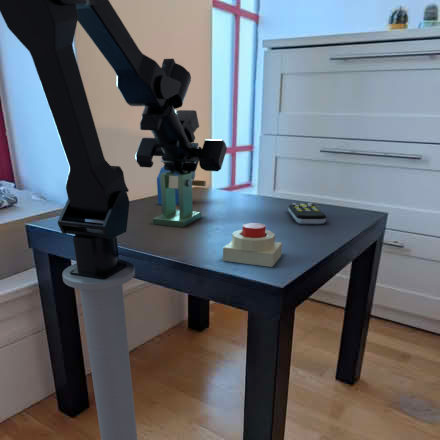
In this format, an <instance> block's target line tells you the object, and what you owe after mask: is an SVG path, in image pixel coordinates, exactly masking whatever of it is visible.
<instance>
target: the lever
mask: <svg viewBox="0 0 440 440" xmlns="http://www.w3.org/2000/svg"><path fill="white" fill-rule="evenodd" d="M206 186H207V181H206V180H200V179H199V180H197V179H194V180H192V187H206ZM169 188H175V189H179V187H178V176H169Z"/></svg>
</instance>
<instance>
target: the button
mask: <svg viewBox="0 0 440 440" xmlns="http://www.w3.org/2000/svg"><path fill="white" fill-rule="evenodd" d="M241 227H242V229H241V230H242V236H244V237H249V238H261V237H265V230H267V229H266V227H267V225H266V224H263V223H260V222H247V223H243V224H242V226H241Z"/></svg>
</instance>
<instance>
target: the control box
mask: <svg viewBox="0 0 440 440" xmlns="http://www.w3.org/2000/svg"><path fill="white" fill-rule="evenodd" d="M282 252H283V242H279V241H276V234H275V233H274V232H273V231H272V230H268V229H265V237H261V238H249V237H244V236H242V229H237V230H235V231H234V232H232V234H231V241H229V242H228V243H227V244H226V245H224V246H223V247H222V261H223V262H229V263H237V264H245V265H251V266H260V267H266V268H273V267H274V266H275V265H276V264H277V262H278V261H279V260H280V258H281V257H282V254H283V253H282Z"/></svg>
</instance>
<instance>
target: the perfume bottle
mask: <svg viewBox="0 0 440 440" xmlns="http://www.w3.org/2000/svg"><path fill="white" fill-rule="evenodd" d="M166 172H170V171H169V170H165V169H164V165H163V166H162V167H161V168H160V170H159V173H158V174H157V177H156V188H157V189H156V190H157V191H156V193H157V205H162V198H161V179H160V174H163V173H166ZM178 175H179V174H176V173H174V176H178ZM175 203H176V205H179V189H175Z"/></svg>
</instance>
